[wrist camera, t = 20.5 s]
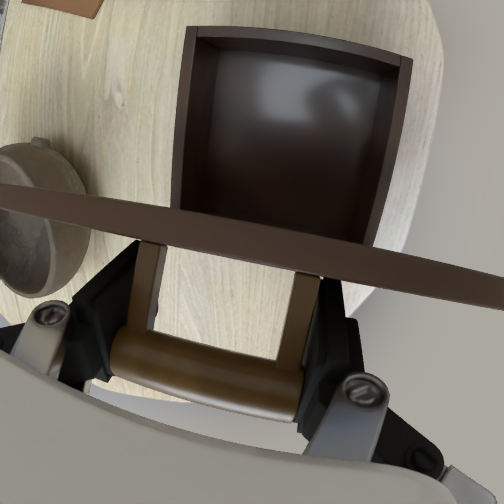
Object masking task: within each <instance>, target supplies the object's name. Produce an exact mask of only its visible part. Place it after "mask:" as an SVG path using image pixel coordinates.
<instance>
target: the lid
mask: <svg viewBox="0 0 504 504" xmlns="http://www.w3.org/2000/svg"><path fill="white" fill-rule="evenodd" d="M0 209H3V210H8V211H12V212H16V213H21V214H25V215H30V216H34V217H39V218H43V219H48V220H52V221H57V222H61V223H66V224H71V225H75V226H80V227H84V228H89V229H94V230H98V231H103V232H108V233H112V234H117V235H122V236H126V237H131V238H136V239H140V240H141V241H140V244H139V249H138V254H137V260H136V265H135V271H134V276H133V282H132V288H131V294H130V301H129V307H128V314H127V322H126V324H124V325H123V326H122V327H121V328H120V329H119V330H118V332H117V334H116V335H115V337H114V340H113V342H112V346H111V350H110V356H109V364H110V369H111V371H112V373H113V374H114V375H115V376H117V377H120V378H122V379H125V380H128V381H130V382H133V383H136V384H139V385H141V386H144V387H147V388H150V389H153V390H156V391H159V392H162V393H165V394H168V395H171V396H175V397H178V398H181V399H185V400H188V401H191V402H195V403H198V404H202V405H206V406H210V407H213V408H217V409H221V410H225V411H229V412H234V413H238V414H243V415H247V416H252V417H256V418H262V419H266V420H272V421H277V422H283V423H292V422H293V420H294V418H295V416H296V413H297V410H298V407H299V404H300V400H301V395H302V390H303V385H304V376H305V370H304V366H303V365H301V364H302V360H303V356H304V352H305V348H306V344H307V340H308V335H309V331H310V327H311V322H312V318H313V313H314V309H315V304H316V300H317V295H318V290H319V285H320V281H321V279H320V277H319V276H321V277H327V278H332V279H337V280H342V281H347V282H352V283H357V284H363V285H368V286H373V287H378V288H383V289H389V290H394V291H399V292H404V293H410V294H415V295H420V296H426V297H431V298H436V299H442V300H448V301H452V302H458V303H463V304H469V305H474V306H480V307H485V308H491V309H497V310H502V311H504V277H500V276H496V275H492V274H488V273H483V272H480V271H476V270H472V269H468V268H463V267H459V266H455V265H451V264H447V263H442V262H438V261H433V260H429V259H425V258H421V257H417V256H412V255H408V254H403V253H399V252H394V251H390V250H385V249H381V248H376V247H371V246H367V245H362V244H357V243H353V242H348V241H343V240H338V239H334V238H329V237H324V236H319V235H314V234H309V233H304V232H299V231H294V230H289V229H284V228H279V227H273V226H268V225H263V224H258V223H252V222H247V221H242V220H236V219H231V218H225V217H220V216H214V215H209V214H203V213H197V212H192V211H186V210H180V209H174V208H168V207H162V206H156V205H150V204H144V203H138V202H132V201H125V200H119V199H113V198H106V197H99V196H93V195H86V194H79V193H72V192H65V191H58V190H51V189H44V188H36V187H29V186H21V185H13V184H5V183H0ZM167 245H169V246H174V247H178V248H183V249H188V250H193V251H198V252H202V253H207V254H212V255H217V256H222V257H227V258H232V259H237V260H241V261H246V262H251V263H256V264H261V265H266V266H271V267H276V268H281V269H286V270H291V271H296V272H295V274H294V278H293V283H292V288H291V293H290V298H289V302H288V307H287V312H286V316H285V321H284V325H283V330H282V334H281V339H280V343H279V347H278V352H277V356H276V360H272V359H267V358H262V357H258V356H253V355H249V354H244V353H240V352H235V351H231V350H227V349H222V348H218V347H214V346H210V345H206V344H202V343H198V342H195V341H191V340H187V339H183V338H180V337H176V336H173V335H169V334H166V333H162V332H159V331H155V330H153V328H154V322H155V315H156V309H157V303H158V297H159V291H160V286H161V280H162V275H163V269H164V264H165V259H166V254H167V249H168V247H167Z"/></svg>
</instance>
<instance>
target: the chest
mask: <svg viewBox="0 0 504 504" xmlns="http://www.w3.org/2000/svg"><path fill="white" fill-rule="evenodd" d="M412 65H413V59H411V58H408V57H405V56H401V55H399V54H396V53H392V52H389V51H385V50H382V49H378V48H374V47H371V46H367V45H363V44H358V43H354V42H350V41H345V40H341V39H336V38H331V37H325V36H320V35H314V34H307V33H301V32H293V31H286V30H277V29H267V28H254V27H237V26H187V27H186V33H185V40H184V47H183V55H182V62H181V70H180V79H179V88H178V97H177V107H176V118H175V130H174V143H173V159H172V177H171V201H170V208H174V209H180V210H186V211H192V212H197V213H203V214H209V215H214V216H220V217H225V218H231V219H236V220H242V221H247V222H252V223H258V224H263V225H268V226H273V227H279V228H284V229H289V230H294V231H299V232H304V233H309V234H314V235H319V236H324V237H329V238H334V239H338V240H343V241H348V242H353V243H357V244H362V245H367V246H371V247H373V244H374V240H375V237H376V234H377V230H378V227H379V223H380V220H381V216H382V213H383V209H384V205H385V201H386V198H387V194H388V190H389V186H390V182H391V178H392V174H393V170H394V165H395V161H396V156H397V152H398V147H399V142H400V138H401V133H402V128H403V122H404V117H405V111H406V106H407V100H408V93H409V87H410V80H411V73H412Z"/></svg>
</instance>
